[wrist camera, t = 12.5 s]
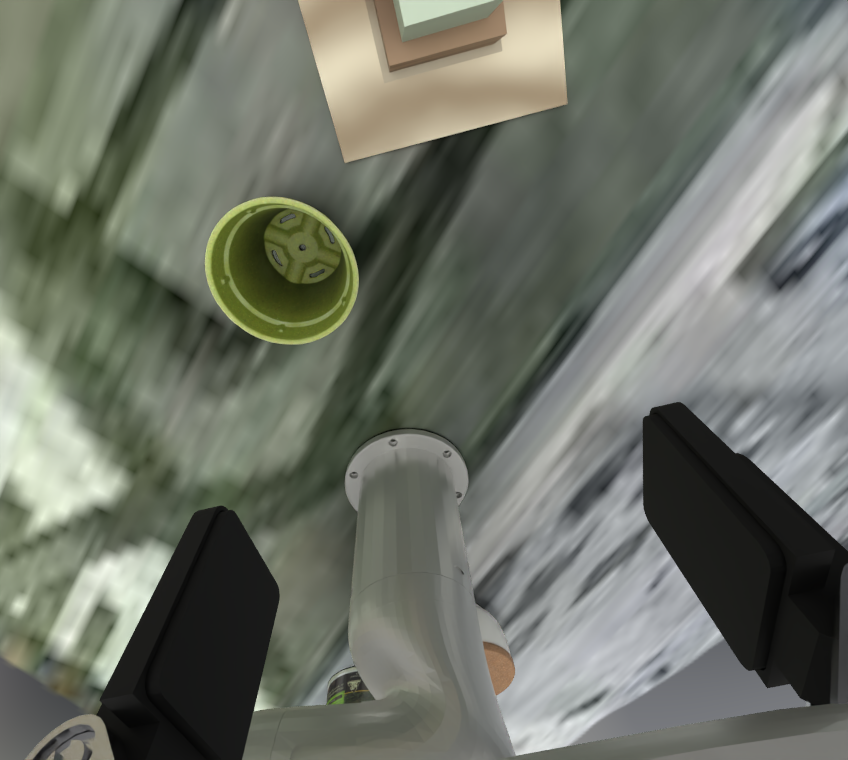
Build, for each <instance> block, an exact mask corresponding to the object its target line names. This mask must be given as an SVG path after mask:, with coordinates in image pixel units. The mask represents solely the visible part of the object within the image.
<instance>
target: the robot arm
mask: <svg viewBox="0 0 848 760" xmlns="http://www.w3.org/2000/svg"><path fill="white" fill-rule="evenodd" d="M467 488H468V472H467V468H466V464H465V461H464V459H463V457H462V455H461V453H460V452H459V451H458V450H457V449H456V447H455V446H454V445H453V444H451V443H450V442H449V441H447V440H446V439H444V438H442V437H440V436H438V435H436V434H434V433H430V432H427V431H423V430H415V429H400V430H395V431H389V432H386V433H383V434H380V435H378V436H376V437H374V438H372V439H370V440H369V441H367V442H366V443H364V444H363V445H362V446H361V447H360V448H358V450H357V451H356V452H355V453H354V455H353V456H352V457H351V459H350V461H349V464H348V466H347V470H346V475H345V490H346V495H347V497H348V500H349V502H350V503H351V505H352V506H353V508H354V509H355V510H356V511H357V512H358V517H357V528H356V540H355V552H354V564H353V576H352V587H351V599H350V612H349V624H348V639H349V647H350V652H351V655H352V659H353V662H354V665H355V667H356V669H357V671H358V673H359V675H360V677H361V679H362V680H363V682H364V683H365V685H366V687H367V688H368V690H369V691H370V693H371V694H372V695H373V697H374V698H375V700H373V701H362V702H361V703H349V704H332V705H315V706H298V707H289V708H274V709H266V710H259V711H255V712H253V711H254V707H255V702H256V698H257V694H258V690H259V685H260V681H261V677H262V672H263V668H264V664H265V659H266V655H267V651H268V647H269V642H270V638H271V634H272V629H273V625H274V621H275V617H276V612H277V608H278V604H279V588H278V585H277V583H276V581H275V579H274V578H273V576H272V574H271V573H270V571H269V569H268V567H267V566H266V564H265V562H264V561H263V559H262V557H261V555H260V554H259V552H258V550H257V549H256V547H255V545H254V543H253V542H252V540H251V538H250V537H249V535H248V533H247V532H246V530H245V528H244V526H243V525H242V523H241V521H240V520H239V518H238V516H237V514H236V513H235V512H234V511H233V510H228V509H227V508H226V507H224V506H217V507H212V508H208V509H204V510H199V511H197V512H195V513H194V515H193V516H192V518H191V520H190V522H189V524H188V526H187V528H186V530H185V532H184V534H183V536H182V538H181V540H180V542H179V544H178V546H177V548H176V550H175V552H174V554H173V556H172V557H171V559H170V561H169V563H168V565H167V567H166V569H165V571H164V573H163V575H162V577H161V579H160V581H159V583H158V585H157V587H156V589H155V591H154V593H153V595H152V597H151V599H150V601H149V603H148V605H147V607H146V609H145V611H144V613H143V615H142V617H141V619H140V621H139V623H138V625H137V627H136V629H135V631H134V633H133V635H132V637H131V639H130V641H129V643H128V645H127V647H126V649H125V651H124V653H123V655H122V657H121V659H120V661H119V663H118V665H117V667H116V669H115V671H114V673H113V675H112V677H111V679H110V680H109V682H108V684H107V686H106V688H105V690H104V692H103V694H102V696H101V698H100V701H101V702H102V705H101V707H100V709H99V711H98V713H97V715H96V716H95V715H93V714H89V715H80V716H78V717H76V718H73V719H71V720H68V721H66V722H65V723H63V724H62V725H60V726H59V727H57V728H56V729H54V730H53V731H52V732H51V733H49V734H48V735H47V736H46V737H45V738H44V739H43V740H42V741H41V742H40V743H38V745H37V746H36V747H35V748H34V749H33V750H32V752H31V753H30V754H29V755H28V756H27V758H26V759H25V760H848V551H847V550H846V549H845V548H844V547H843V546H842V545H840V544H839V543H838V542H837V541H836V540H835V539H834V538H833V537H832V536H831V535H830V534H829V533H828V532H827V531H825V530H824V529H823V528H822V527H821V526H820V525H819V524H818V523H817V522H816V521H815V520H814V519H813V518H812V517H811V516H809V515H808V514H807V513H806V512H805V511H804V510H803V509H802V508H801V507H800V506H799V505H798V504H797V503H796V502H794V501H793V500H792V499H791V498H790V497H789V496H788V495H787V494H786V493H785V492H784V491H783V490H782V489H781V488H779V487H778V486H777V485H776V484H775V483H774V482H773V481H772V480H771V479H770V478H769V477H768V476H767V475H766V474H765V473H763V472H762V471H761V470H760V469H759V468H758V467H757V466H756V465H755V464H754V463H753V462H752V461H751V460H749V459H748V458H747V457H745V456H744V455H742V454H738V453H736V454H735V453H734V452H733V451H732V450H731V449H730V448H729V447H728V446H727V445H726V444H725V443H724V442H723V441H722V440H721V439H720V438H719V437H717V436H716V435H715V434H714V433H713V432H712V431H711V430H710V429H709V428H708V427H707V426H706V425H705V424H704V423H703V422H702V421H701V420H700V419H699V418H698V417H697V416H696V415H694V414H693V413H692V412H691V411H690V410H689V409H688V408H687V407H686V406H685V405H684V404H682V403H681V402H676V403H672V404H667V405H663V406H659V407H654V408H652V409H651V411H650V415H649V416H645V417H644V419H643V505H644V511H645V514H646V517H647V519H648V521H649V523H650V524H651V526H652V527H653V529H654V531H655V532H656V534H657V535H658V537H659V538H660V540H661V541H662V543H663V544H664V546H665V548H666V549H667V551H668V552H669V554H670V555H671V557H672V558H673V560H674V561H675V563H676V564H677V566H678V568H679V569H680V571H681V572H682V574H683V575H684V577H685V578H686V580H687V581H688V583H689V584H690V586H691V588H692V589H693V591H694V592H695V594H696V595H697V597H698V598H699V600H700V601H701V603H702V604H703V606H704V608H705V609H706V611H707V612H708V614H709V615H710V617H711V618H712V620H713V621H714V623H715V625H716V626H717V628H718V629H719V631H720V632H721V634H722V635H723V637H724V638H725V640H726V641H727V643H728V644H729V646H730V648H731V649H732V650H733V652H734V654H735V655H736V657H737V658H738V660H739V661H740V663H741V664H742V665H743V666H744V667H745V668H746V669H747V670H749V671H751V670H755V671H756V672H757V674H758V675H759V676H760V678H761V680H762V681H763V683H764V684H765V685H766V687H767V688H770V687H776V686H780V685H786V684H791V686H792V687H793V689H794V690H795V691H796V693H797V694H798V696H799V697H800V698H801V699H803V700H805V701H806V707H798V708H789V709H780V710H774V711H767V712H762V713H755V714H749V715H743V716H737V717H731V718H724V719H718V720H712V721H706V722H700V723H694V724H688V725H682V726H676V727H671V728H666V729H660V730H655V731H649V732H644V733H638V734H633V735H628V736H622V737H617V738H611V739H605V740H600V741H595V742H589V743H583V744H578V745H573V746H567V747H562V748H556V749H551V750H545V751H540V752H534V753H529V754H524V755H519V756H516V755H515V752H514V749H513V746H512V743H511V740H510V737H509V734H508V731H507V728H506V725H505V723H504V720H503V717H502V713H501V710H500V707H499V704H498V701H497V698H496V695H495V691H494V688H493V684H492V681H491V677H490V673H489V669H488V664H487V660H486V656H485V651H484V646H483V641H482V636H481V631H480V626H479V621H478V615H477V609H476V604H475V599H474V593H473V587H472V582H471V576H470V570H469V565H468V559H467V553H466V548H465V542H464V537H463V531H462V525H461V520H460V514H459V508H458V506H459V505H460V503H461V502H462V500H463V499H464V497H465V494H466V491H467Z"/></svg>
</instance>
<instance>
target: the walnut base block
mask: <svg viewBox="0 0 848 760" xmlns="http://www.w3.org/2000/svg"><path fill="white" fill-rule="evenodd" d="M373 1H374V6H375V10H376V15H377V19H378V24H379V28H380V32H381V37H382V41H383V46H384V50H385V55H386V59H387V63H388V68H389V72H394V71H397V70H401V69H405V68H408V67H412V66H416V65H419V64H423V63H426V62H430V61H434V60H437V59H441V58H445V57H448V56H452V55H456V54H459V53H463V52H467V51H470V50H474V49H478V48H481V47H485V46H489V45H492V44H494V43H496V42H497V41H498V40H500V39H501V38H502V37H504V36H505V35H506V34H507V29H506V20H505V12H504V3H503V1H502V2H501V3H500V4H499V5H498V7H497V8H496V9H495V10H494V11H493V12H492V13H491V14H490V15H489V16H488V17H487V18H484V19H481V20H477V21H474V22H470V23H467V24H464V25H460V26H457V27H453V28H450V29H446V30H443V31H440V32H436V33H433V34H429V35H426V36H422V37H419V38H416V39H412V40H409V41H405V42H402V39H401V35H400V30H399V26H398V21H397V16H396V12H395V7H394V3H393V0H373Z"/></svg>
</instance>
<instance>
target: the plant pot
mask: <svg viewBox="0 0 848 760" xmlns="http://www.w3.org/2000/svg"><path fill="white" fill-rule="evenodd" d="M289 214H295V215H296V217H295V218H292V219H289V220H287V221H285V222H284V223H282V224H281V223H280V220H281V219H282V218H283V217H285V216H287V215H289ZM325 227H327V228H328V229H329V230H330V231H331V233H332V235H333V237H334V241H335V242H334V244H332V243H331V241H330V238H329V236H328V234H327V232H326V231H325V229H324V228H325ZM300 245H305V246H306V249H305V250H303V251H302V250H300V249H299V246H300ZM272 250H275V251H276V253H277V255H278V258H279V260H280V261H281V264H283V266H281V265H279V264H278V263H277V262H276V261H275V259H274V258H273V255H272ZM321 269H325V272H324V273H322V274H320V275H318V276H317V277H314V278H311V277H310V276H309V275H310V274H312V273H315V272H318V271H320V270H321ZM205 272H206V277H207V281H208V284H209V287H210V290H211V292H212V294H213V297H214V298H215V300H216V302H217V303H218V305H219V306H220V308H221V309H222V310H223V311H224V313H225V314H226V315H227V316H228V317H229V318H230V319H231V320H232V321H233V322H234V323H235V324H237V325H238V326H239V327H241V328H242V329H243V330H245V331H246V332H248V333H250V334H251V335H253V336H256V337H258V338H260V339H263V340H266V341H269V342H272V343H278V344H304V343H309V342H312V341H315V340H318V339H320V338H323V337H325V336H327V335H328V334H330V333H331V332H333V331H334V330H335V329H337V328H338V327H339V326H340V325H341V324H342V323H343V322H344V321H345V319H346V318H347V317H348V315H349V313H350V312H351V310H352V308H353V306H354V303H355V300H356V297H357V293H358V286H359V275H358V268H357V263H356V259H355V256H354V253H353V251H352V248H351V246H350V244H349V243H348V241H347V239H346V238H345V236H344V235H343V234H342V232H341V231H340V230H339V229H338V227H337V226H336V225H335V224H334V223H333V222H332V221H331V220H330V219H329V218H328V217H327V216H326V215H324V214H323V213H321V212H320V211H318V210H317V209H315V208H313V207H311V206H309V205H307V204H305V203H303V202H300V201H297V200H294V199H290V198H284V197H261V198H256V199H252V200H249V201H246V202H244V203H242V204H240V205H238V206H236V207H235V208H233V209H232V210H230V211H229V212H228V213H227V214H225V215H224V216H223V217H222V218H221V220H220V221H219V222H218V223H217V225H216V226H215V228H214V230H213V231H212V233H211V235H210V238H209V241H208V244H207V248H206V254H205Z"/></svg>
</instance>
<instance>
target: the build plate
mask: <svg viewBox="0 0 848 760" xmlns="http://www.w3.org/2000/svg"><path fill="white" fill-rule="evenodd" d="M298 2H299V5H300V9H301V12H302V16H303V19H304V23H305V26H306V29H307V33H308V36H309V40H310V43H311V47H312V50H313V54H314V57H315V61H316V64H317V68H318V71H319V75H320V78H321V82H322V85H323V89H324V92H325V96H326V99H327V103H328V106H329V109H330V113H331V116H332V120H333V123H334V127H335V130H336V134H337V137H338V141H339V144H340V148H341V151H342V155H343V158H344V162H345V163H347V162H350V161H354V160H358V159H362V158H365V157H369V156H373V155H377V154H381V153H384V152H388V151H392V150H396V149H399V148H403V147H407V146H411V145H415V144H418V143H422V142H426V141H430V140H434V139H437V138H441V137H445V136H449V135H452V134H456V133H460V132H464V131H468V130H471V129H475V128H479V127H483V126H486V125H490V124H494V123H498V122H502V121H505V120H509V119H513V118H517V117H520V116H524V115H528V114H532V113H536V112H539V111H543V110H547V109H551V108H555V107H558V106H562V105H566V104H567V90H566V77H565V63H564V49H563V35H562V22H561V8H560V0H503V3H504V12H505V20H506V29H507V34H506V35H505V36H504V37H502V38H501V39H500V40H498V41H497V42H496V43H494V44H492V45H489V46H485V47H481V48H478V49H474V50H470V51H467V52H463V53H459V54H456V55H452V56H448V57H445V58H441V59H437V60H434V61H430V62H426V63H423V64H419V65H416V66H412V67H408V68H405V69H401V70H397V71H394V72H389V68H388V63H387V59H386V55H385V50H384V46H383V41H382V37H381V32H380V28H379V24H378V19H377V15H376V10H375V6H374V1H373V0H298Z"/></svg>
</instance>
